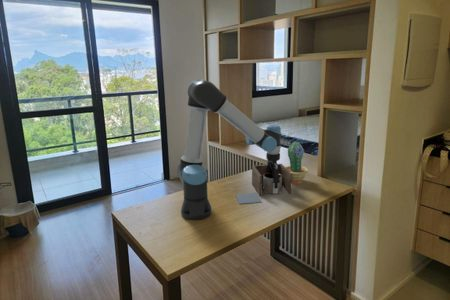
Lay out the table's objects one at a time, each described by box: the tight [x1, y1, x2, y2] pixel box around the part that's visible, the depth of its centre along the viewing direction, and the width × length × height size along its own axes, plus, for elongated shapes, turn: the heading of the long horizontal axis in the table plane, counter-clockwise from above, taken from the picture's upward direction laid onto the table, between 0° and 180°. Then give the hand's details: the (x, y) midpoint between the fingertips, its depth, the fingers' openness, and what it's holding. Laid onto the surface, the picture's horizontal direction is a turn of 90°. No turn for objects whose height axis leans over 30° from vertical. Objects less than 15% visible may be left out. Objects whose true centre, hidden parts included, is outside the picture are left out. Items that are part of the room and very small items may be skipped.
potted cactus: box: [284, 141, 309, 185], centre depth 193 cm, size 15×15×25 cm
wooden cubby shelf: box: [251, 163, 292, 197], centre depth 183 cm, size 18×18×12 cm
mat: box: [235, 192, 262, 205], centre depth 172 cm, size 12×12×1 cm
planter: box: [262, 172, 283, 195], centre depth 181 cm, size 11×11×10 cm
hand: (272, 189), depth 182 cm, fingers closed on planter, 11 cm apart
